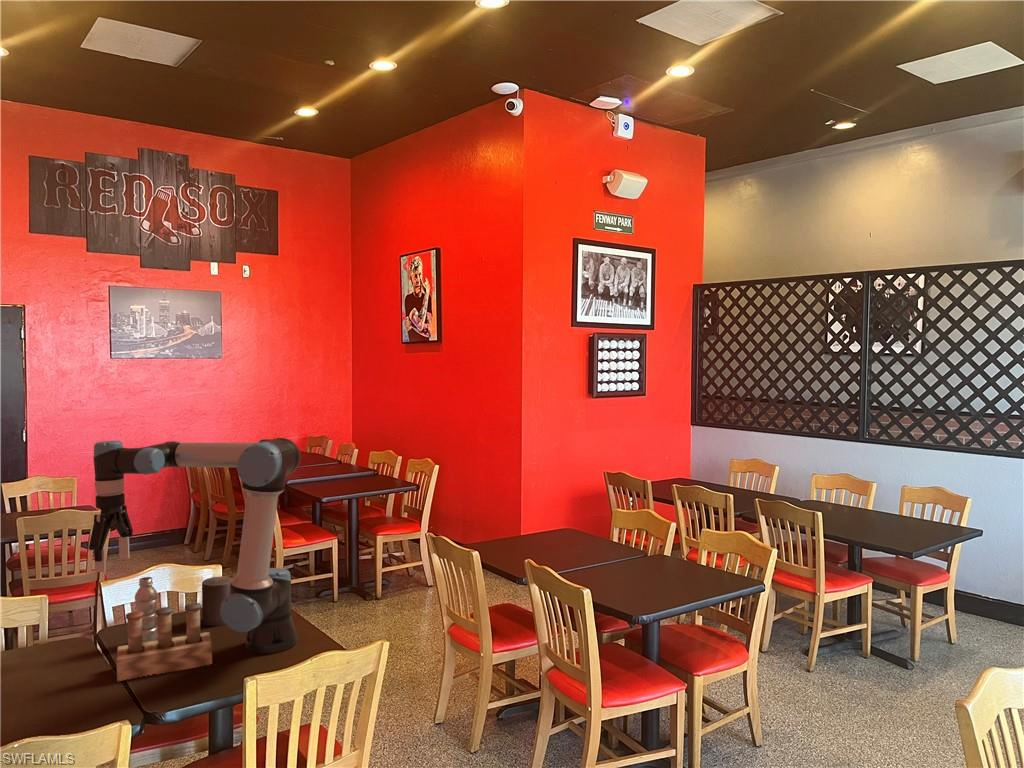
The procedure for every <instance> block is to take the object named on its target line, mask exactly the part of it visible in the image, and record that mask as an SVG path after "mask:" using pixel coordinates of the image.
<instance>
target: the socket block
mask: <svg viewBox="0 0 1024 768" xmlns="http://www.w3.org/2000/svg"><path fill="white" fill-rule="evenodd" d="M212 649H213V644H212V639H211V634H210V632H209V631H208V632H207V631H205V632H200V642H199V643H193V644H187V635H180V636H176V637H172V647H169V648H163V649H158V639H157V640H156V641H149V642H143V651H142V652H139V653H133V654H128V644H125V645H119V646H117V650H116V651H117V652H116V681H117V682H122V681H128V680H132V679H133V678H134V679H138V678H137V677H139V678H143V677H142V676H145V677H148V676H147V675H150V676H153V675H152V674H156V675H161V673H162V674H167V673H172V672H179V671H183V670H188V669H189V670H190V669H195V668H199V667H200V666H201V667H204V665H206V666H211V665H210V664H212V665H213V650H212ZM166 672H167V673H166ZM127 679H128V680H127ZM134 679H133V680H134Z"/></svg>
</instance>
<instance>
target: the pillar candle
mask: <svg viewBox="0 0 1024 768" xmlns="http://www.w3.org/2000/svg"><path fill="white" fill-rule="evenodd" d="M232 578H233V577H229V576H224V575H223V576H213V577H212V576H211V577H209V578H208V577H207V578H205V579H204V580H203V581H202V583H201V616H202V621H201V624H202V625H203V626H205V625H206V627H219V626H223V625H224V624H225V625H227V624H226V623H224V621H223V620H222V617H221V614H220V607H221V604H222V602H223V601H224V599H225V598H226V597H227V596H228V595H229V590H230V582H231V579H232ZM225 625H224V626H225Z"/></svg>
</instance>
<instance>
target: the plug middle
mask: <svg viewBox="0 0 1024 768" xmlns="http://www.w3.org/2000/svg"><path fill="white" fill-rule="evenodd" d="M173 610H174V609H173V607H170V606H165V607H164V606H163V607H159V608H156V621H157V627H158V638H157V640H158V649H163V648H169V647H172V638H173V631H172V628H173V627H172V622H173V621H172V613H173V612H174V611H173Z"/></svg>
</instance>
